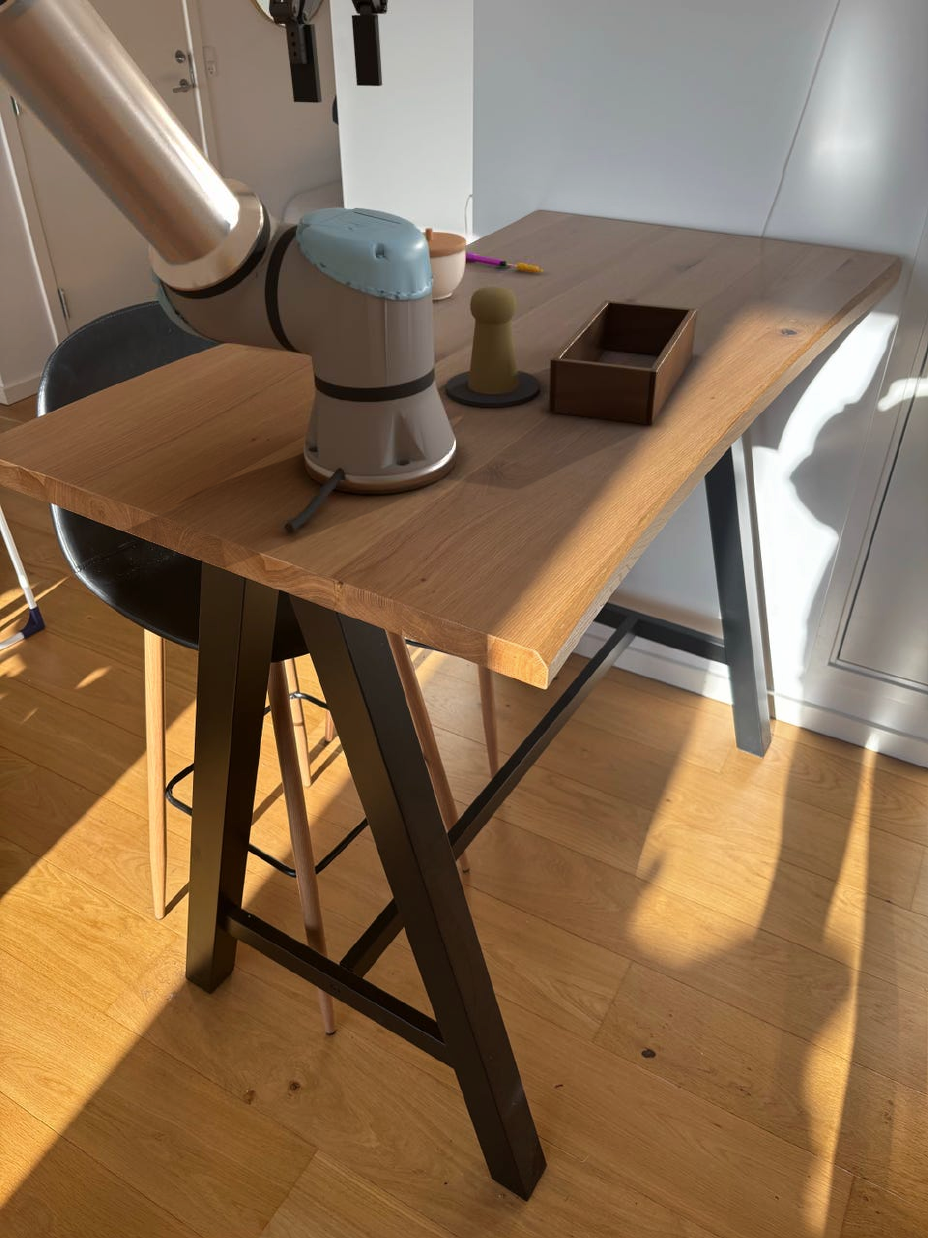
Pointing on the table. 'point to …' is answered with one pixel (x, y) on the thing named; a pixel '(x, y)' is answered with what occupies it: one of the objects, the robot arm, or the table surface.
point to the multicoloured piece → (500, 263)
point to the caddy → (622, 387)
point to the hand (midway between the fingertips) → (340, 93)
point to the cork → (493, 342)
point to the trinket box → (445, 261)
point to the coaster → (465, 395)
